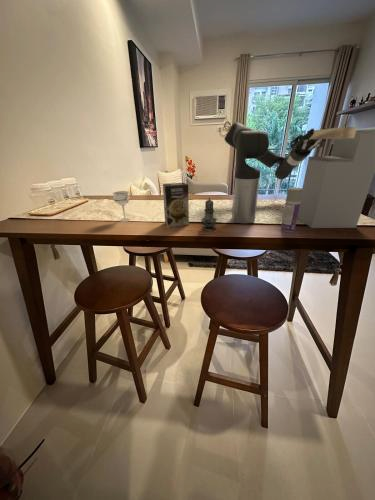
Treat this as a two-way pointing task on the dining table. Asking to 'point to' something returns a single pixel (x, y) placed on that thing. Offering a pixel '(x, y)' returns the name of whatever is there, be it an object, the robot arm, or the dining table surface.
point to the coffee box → (176, 204)
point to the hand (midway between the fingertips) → (319, 130)
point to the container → (291, 209)
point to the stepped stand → (339, 183)
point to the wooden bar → (334, 133)
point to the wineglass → (122, 201)
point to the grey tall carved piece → (209, 217)
